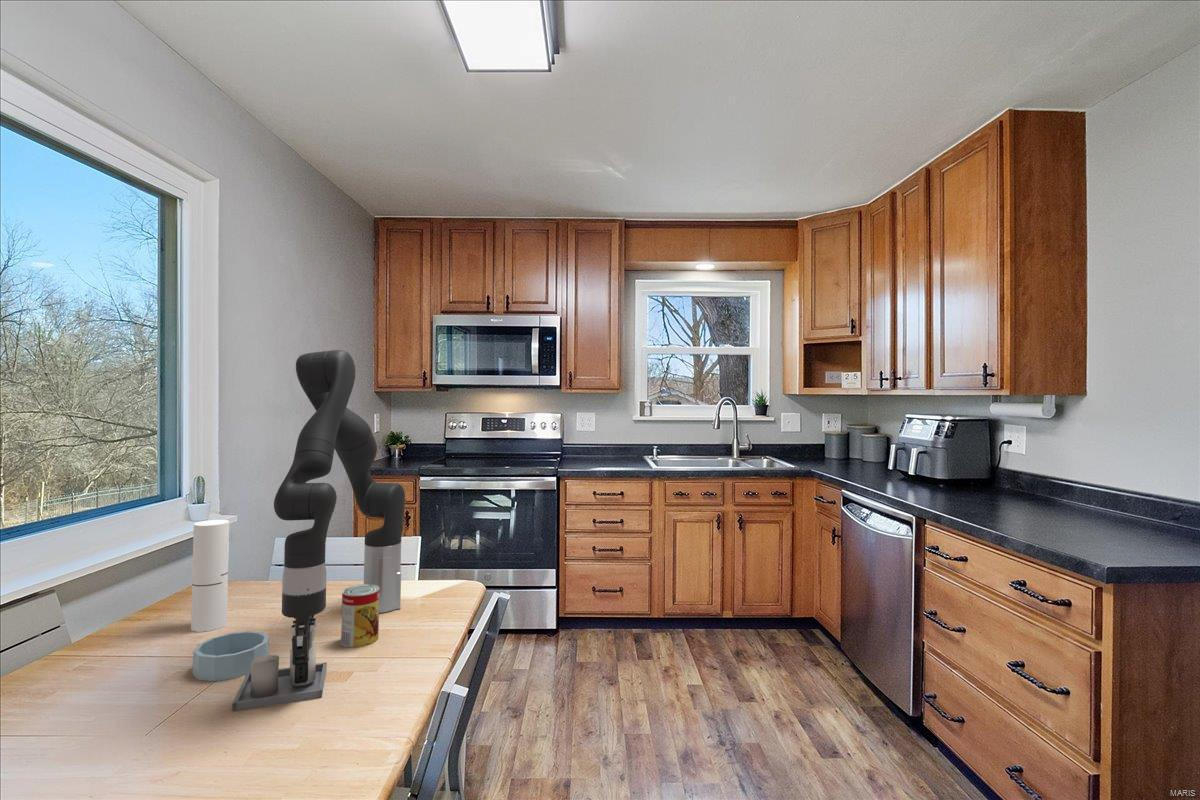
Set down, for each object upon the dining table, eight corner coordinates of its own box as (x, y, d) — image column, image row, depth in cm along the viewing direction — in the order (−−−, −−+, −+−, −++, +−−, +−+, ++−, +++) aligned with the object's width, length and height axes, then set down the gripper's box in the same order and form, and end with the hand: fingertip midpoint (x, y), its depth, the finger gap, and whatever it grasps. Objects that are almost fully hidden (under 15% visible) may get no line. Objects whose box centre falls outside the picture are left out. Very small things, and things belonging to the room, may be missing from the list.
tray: (326, 671, 115) (326, 662, 115) (321, 699, 104) (321, 690, 104) (246, 682, 110) (246, 673, 110) (232, 714, 99) (232, 703, 99)
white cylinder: (279, 684, 108) (280, 653, 108) (276, 696, 104) (277, 663, 104) (253, 688, 106) (253, 656, 106) (248, 700, 102) (249, 666, 102)
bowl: (272, 651, 124) (272, 628, 124) (261, 676, 112) (262, 651, 112) (203, 659, 119) (204, 635, 119) (185, 687, 107) (186, 661, 108)
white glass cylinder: (316, 673, 111) (317, 642, 111) (314, 683, 107) (315, 651, 107) (291, 676, 110) (291, 645, 110) (288, 687, 106) (288, 655, 106)
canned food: (385, 639, 131) (387, 587, 131) (358, 652, 124) (359, 597, 124) (361, 633, 134) (362, 582, 135) (333, 645, 127) (334, 591, 128)
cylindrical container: (233, 621, 140) (236, 520, 140) (211, 632, 133) (214, 526, 133) (207, 619, 141) (209, 519, 141) (183, 631, 134) (186, 525, 134)
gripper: (323, 596, 104) (321, 690, 103) (328, 574, 117) (327, 657, 117) (276, 601, 101) (274, 698, 101) (287, 578, 114) (285, 663, 114)
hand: (302, 675), depth 109 cm, fingers closed on white glass cylinder, 4 cm apart
